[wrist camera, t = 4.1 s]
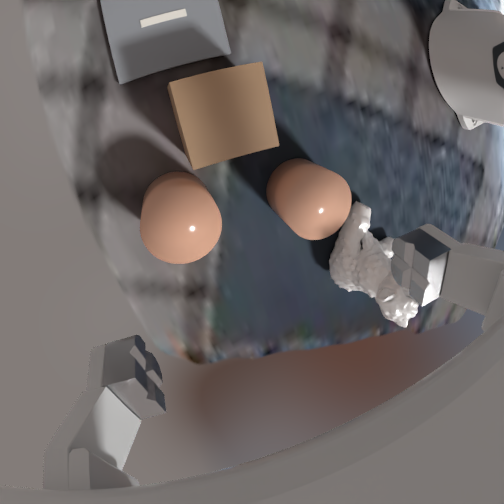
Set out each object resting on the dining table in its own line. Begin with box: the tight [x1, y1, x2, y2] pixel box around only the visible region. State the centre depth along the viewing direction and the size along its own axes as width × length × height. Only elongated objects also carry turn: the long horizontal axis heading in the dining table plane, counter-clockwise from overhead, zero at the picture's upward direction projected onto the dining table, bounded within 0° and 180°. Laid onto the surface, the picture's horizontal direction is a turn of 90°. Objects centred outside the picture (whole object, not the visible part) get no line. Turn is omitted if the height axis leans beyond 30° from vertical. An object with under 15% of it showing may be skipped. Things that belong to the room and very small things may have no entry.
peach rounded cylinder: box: [140, 172, 222, 264], centre depth 24 cm, size 6×6×5 cm
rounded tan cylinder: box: [266, 158, 351, 240], centre depth 26 cm, size 6×6×5 cm
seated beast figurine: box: [329, 201, 418, 327], centre depth 29 cm, size 10×9×12 cm
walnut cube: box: [167, 62, 279, 170], centre depth 20 cm, size 6×6×6 cm
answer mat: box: [100, 0, 231, 85], centre depth 17 cm, size 9×9×1 cm
